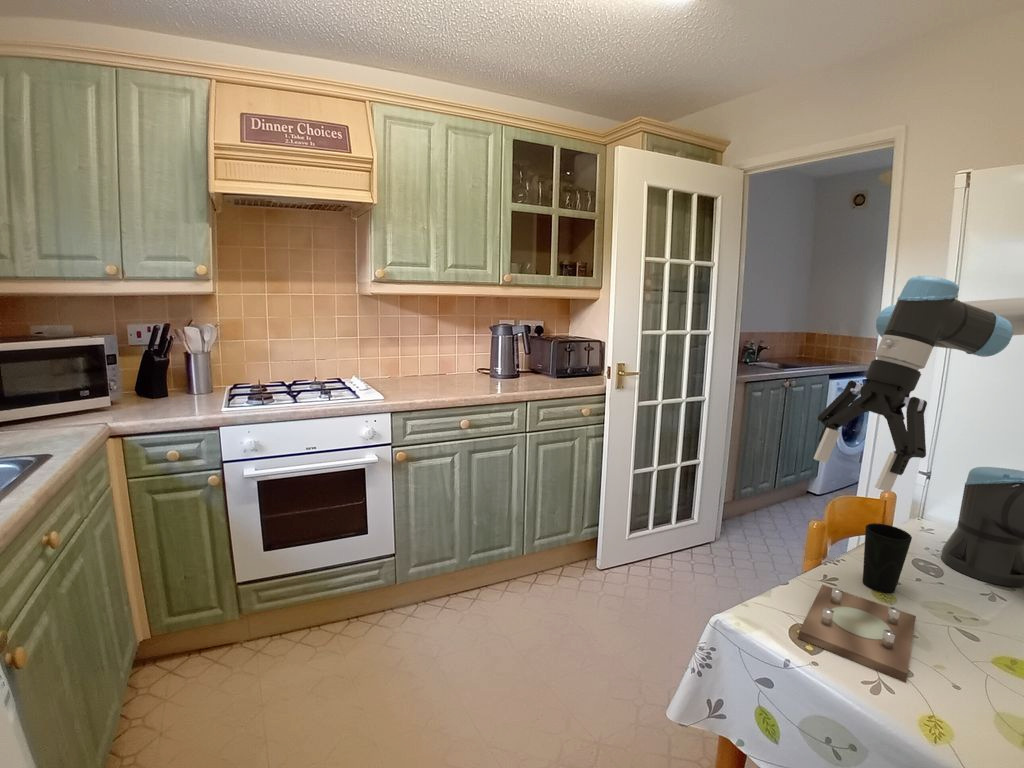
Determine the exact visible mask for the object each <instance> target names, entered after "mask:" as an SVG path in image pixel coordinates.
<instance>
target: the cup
mask: <svg viewBox="0 0 1024 768" xmlns="http://www.w3.org/2000/svg"><path fill="white" fill-rule="evenodd" d="M864 533H865V535H864V552H863V569H862V570H863V571H862V584H863V585H864V586H866V588H868V589H870V590H872V591H875V592H878V593H882V594H887V595H888V594H894V593H895V592H896V590H897V587H898V583H899V580H900V577H901V573H902V570H903V567H904V564H905V561H906V558H907V555H908V552H909V548H910V546H911V544H912V539H913V536H912V535H911V534H910V533H908V532H907V531H905V530H903V529H902V528H899V527H896V526H893V525H888V524H885V523H875V522H873V523H868V524H867V525H865V532H864Z"/></svg>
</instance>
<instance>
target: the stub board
mask: <svg viewBox="0 0 1024 768" xmlns="http://www.w3.org/2000/svg"><path fill="white" fill-rule="evenodd" d="M916 616H917V615H914V614H910V613H908V612H905V611H902V610H899V609H898V608H896V607H892V606H887V605H885V604H882V603H878V602H875V601H872V600H869V599H866V598H863V597H862V596H858V595H854V594H852V593H849V592H846V591H843V590H841V588H837V587H831V586H828V585H825V584H822V585H821V587H820V588H819V591H818V593H817V594H816V597H815V598H814V600H813V603H812V605H811V606H810V608H809V610H808V613H807V615H806V616H805V618H804V620H803V623H802V625H801V626H800V628H799V631H798V636H797V639H798V638H799V640H800V641H804V642H805V643H808V644H810V643H811V645H813V644H814V645H813V646H815V645H816V647H818V646H819V647H818V648H820V647H821V648H820V649H823V648H824V649H823V650H825V649H826V651H828V650H829V651H828V652H830V651H831V653H833V654H836V655H838V656H840V657H842V656H843V657H842V658H845V657H846V658H845V659H847V658H848V660H850V661H851V662H855V663H858V664H860V665H862V666H865V667H868V668H870V669H873V670H875V671H878V672H879V673H882V674H885V675H887V676H890V677H891V678H894V677H895V679H897V680H899V679H900V680H899V681H902V680H903V681H902V682H904V681H905V682H904V683H907V677H908V672H909V665H910V660H911V653H912V646H913V645H912V644H913V640H914V639H913V638H914V631H915V626H916V618H917V617H916Z"/></svg>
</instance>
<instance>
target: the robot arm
mask: <svg viewBox="0 0 1024 768" xmlns="http://www.w3.org/2000/svg"><path fill="white" fill-rule="evenodd" d="M959 291H960V287H959V285H958V284H957V283H955V282H954V281H952V280H950V279H947V278H943V277H939V276H937V277H936V276H930V275H917V276H913V277H911V278H908V280H907V281H906V283H905V285H904V286H903V288H902V290H901V292H900V294H899V296H898V297H897V301H896V303H895V304H892V305H889V306H886V307H884V309H882V310H881V311H880V312H879V314H878V316H877V318H876V320H875V321H876V323H875V329H876V332H877V334H878V335H879V336H880V337H881V340H880V342H879V344H878V346H877V349H876V351H875V353H874V356H875V357H876V359H873V360H871V362H870V364H869V367H868V369H867V371H866V373H865V378H866V381H865V382H864V384H863V383H860V382H857V381H854V380H849V381H848V382H847V384H846V385H845V388H844V390H843V391H841V393H840V394H839V395H838V396H837V397H836V398H835V399H834V400H832V402H831V403H829V405H828V406H827V407H826V408H825V409H824V410H823V411H822V412H821V413H820V414H819V415H818V416H817V420H818V421H819V422H820V423H822V424H823V429H822V431H821V433H820V435H819V438H818V442H819V444H818V446H817V450H816V451H815V454H814V456H813V460H815V461H817V462H818V461H819V462H823V463H826V464H828V461H829V459H830V457H831V454H832V452H833V450H834V447H835V445H836V442H837V440H838V438H839V436H840V434H841V431H840V429H839V428H841V427H842V426H844V425H846V424H847V423H849V422H851V421H853V420H854V419H856V418H857V417H859V416H861V415H862V414H863V413H864V414H865V413H868V412H870V413H873V414H877V415H880V416H883V417H884V419H885V420H886V422H887V425H888V428H889V429H888V430H889V432H890V435H891V439H892V442H893V445H894V449H895V450H893V452H892V451H890V452H889V454H888V455H887V459H886V462H885V464H884V466H883V467H882V470H881V472H880V475H879V477H878V479H877V481H876V483H875V485H874V488H875V489H878V490H881V491H885V492H889V493H891V491H892V489H893V487H894V484H895V483H896V481H897V478H898V477H899V476H903V474H904V473H905V470H906V468H907V467H908V463H909V462H910V460H911V459H912V458H920V459H924V458H925V457H926V456H927V447H926V430H925V429H926V428H925V427H926V425H925V411H926V410H927V409H926V408H927V406H928V402H927V400H925V399H922V398H919V397H916V396H912V397H910V394H911V393H912V392H913V391H915V389H916V388H917V385H918V382H919V380H920V378H921V376H922V373H921V371H919V370H922V369H925V368H926V366H927V363H928V361H929V358H930V356H931V354H932V351H933V349H934V348H935V347H936V348H943V349H944V348H945V349H950V350H957V351H962V352H965V353H966V354H967V355H973V356H978V357H982V358H985V357H986V358H987V357H991V356H995V355H997V354H999V353H1000V352H1002V351H1003V350H1005V349H1006V348H1007V347H1008V346H1009V344H1010V342H1011V340H1012V339H1013V336H1024V297H1023V296H1022V297H1011V298H1009V297H1008V298H996V299H983V300H982V299H981V300H980V299H979V300H968V301H961V300H958V297H959V296H958V293H959ZM859 395H860V396H859ZM858 396H859V397H858ZM903 408H906V413H905V414H906V417H905V414H904V412H903ZM905 418H906V424H905V421H904V420H905ZM960 504H961V506H960V511H959V515H958V522H957V527H956V528H955V530H954V531H953V532H952V534H951V535H950V537H949V538H948V539H947V541H946V542H945V543H944V545H943V546H942V550H941V553H940V559H941V560H942V562H943V563H944V564H946V565H947V566H948V567H950V568H951V569H953V570H955V571H957V572H959V573H961V574H964V575H966V576H969V577H970V578H974V579H977V580H979V581H983V582H985V583H990V584H994V585H998V586H1003V587H1004V586H1005V587H1012V588H1013V587H1014V588H1022V587H1023V588H1024V470H1020V469H1019V470H1018V469H1013V468H1004V467H993V466H977V467H974V468H972V469H970V470H969V472H968V474H967V477H966V482H965V483H964V488H963V493H962V500H961V503H960Z"/></svg>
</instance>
